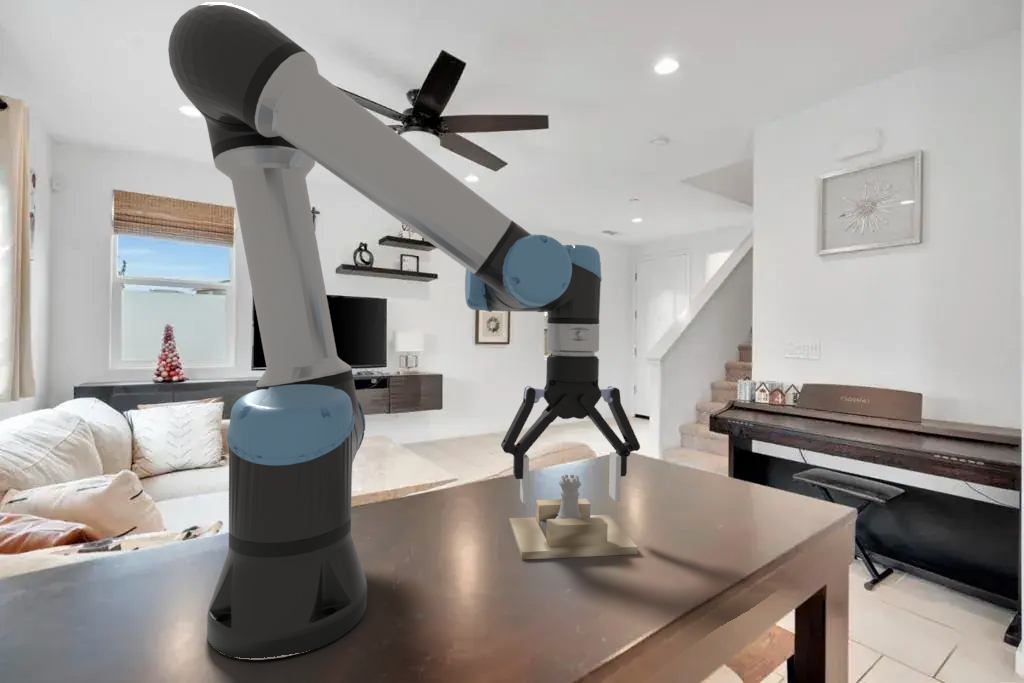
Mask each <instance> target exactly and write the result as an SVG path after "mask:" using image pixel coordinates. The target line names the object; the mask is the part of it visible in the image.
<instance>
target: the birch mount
mask: <svg viewBox="0 0 1024 683" xmlns="http://www.w3.org/2000/svg"><path fill="white" fill-rule="evenodd" d="M578 505H579V512H580V514H581V517H582V518H566V519H555V518H556V517H557V516H558V513H559V511H560V506H561V499H558V498H557V499H536V500H535V516H533V517H529V516H528V517H509V522H508V524H509V527H510V530H511V533H512V536H513V539H514V542H515V545H516V547H517V551H518V554H519V556H520V559H521V561H522V560H539V559H542V560H543V559H560V558H561V559H562V558H563V559H566V558H578V557H579V558H585V557H604V556H605V557H606V556H621V555H625V556H626V555H627V556H629V555H638V546H637V545H636V544H635V543H634V541H633V540H632V539H631V538H630V537H629V536H628V535H627V533H626V532H625V531H623V529H622V528H621V527H620V526H619V524H617V523H616V521H614V519H613V518H612V517H611V516H610V515H609V514H591V502H590V501H589V500H588V499H587V498H578Z"/></svg>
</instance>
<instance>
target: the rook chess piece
mask: <svg viewBox="0 0 1024 683" xmlns="http://www.w3.org/2000/svg"><path fill="white" fill-rule="evenodd" d="M558 484H559V486H560V487H561V491H560V494H559V495H560V496H561V506H560V511H559V513H558V516H557V517H556V518H555V519H566V518H582V517H581V514H580V512H579V505H578V499H579V496H580V493H579V488H580V487H581V485H582V483H581V482H580V477H579V476H578V475H575V476H574V474H570V476H569V475H568V474H564V475H561V479H560V481H559V482H558Z"/></svg>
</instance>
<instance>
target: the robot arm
mask: <svg viewBox="0 0 1024 683" xmlns="http://www.w3.org/2000/svg"><path fill="white" fill-rule="evenodd" d="M167 52H168V60H169V65H170V69H171V71H172V75H173V77H174V79H175V81H176V83H177V85H178V87H179V88H180V90H181V91H182V93H183V94H184V95H185V97H186V98H187V99H188V100H189V101H190V102H191V103H192V105H193V106H194V107H195V108H196V109H197V110H198V112H199V113H200V114H201V115H202V116H203V117H204V119H205V123H206V127H207V132H208V138H209V143H210V146H211V152H212V158H213V163H214V166H215V168H216V169H217V170H218V171H220V172H221V173H222V174H224V175H225V176H226V177H228V178H229V180H231V184H232V189H233V194H234V200H235V204H236V210H237V216H238V221H239V226H240V232H241V236H242V244H243V248H244V254H245V260H246V264H247V270H248V275H249V281H250V285H251V292H252V295H253V296H252V297H253V301H254V307H255V311H256V312H255V313H256V317H257V323H258V324H257V325H258V328H259V333H260V339H261V346H262V350H263V355H264V360H265V365H266V369H265V371H264V372H263V374H262V376H261V377H260V378H259V380H257V382H256V384H255V385H256V390H255V391H251V392H248V393H247V394H245V395H243V396H241V397H240V398H238V399H237V400H236V402H235V403H234V404H233V406H232V408H231V411H230V419H229V425H228V427H227V436H226V439H227V445H228V551H227V555H226V558H225V561H224V563H223V567H222V568H221V571H220V574H219V577H218V581H217V584H216V586H215V588H214V592H213V594H212V597H211V600H210V603H209V605H208V609H207V618H206V621H207V622H206V627H207V628H206V639H207V641H209V642H208V644H209V643H210V644H211V645H210V644H209V645H210V647H211V646H213V647H214V648H215V649H216V650H217V651H219V652H221V653H223V654H225V655H227V656H231V657H238V658H239V657H240V658H250V659H251V658H264V657H265V658H267V657H274V656H275V657H277V656H281V655H289V654H295V653H302V652H306V651H309V650H312V651H314V650H313V649H315V650H317V649H316V648H318V649H320V648H322V647H325V646H327V645H329V644H332V643H333V642H334V641H336V640H338V639H340V638H341V637H343V636H344V635H346V634H347V633H348V632H350V631H352V629H354V627H355V626H356V625H357V624H358V623H359V622H360V621H361V620H362V619H363V617H364V615H365V613H366V610H367V606H368V584H367V582H368V581H367V578H366V575H365V571H364V569H363V566H362V562H361V561H360V557H359V555H358V551H357V548H356V545H355V542H354V539H353V537H352V492H353V491H352V490H353V488H352V482H353V481H352V479H353V478H352V476H353V475H352V473H353V464H354V460H355V458H356V455H357V452H358V450H359V449H360V447H361V445H362V443H363V440H364V437H365V430H366V417H365V412H364V410H363V408H362V406H361V404H362V403H360V402H359V400H358V397H357V396H358V395H357V390H356V386H355V379H354V374H353V370H352V366H351V365H349V363H346V361H343V360H342V359H341V358H340V357H339V356H338V353H337V347H336V342H335V341H336V340H335V336H334V331H333V325H332V319H331V314H330V313H331V312H330V308H329V301H328V298H327V291H326V286H325V280H324V274H323V269H322V263H321V262H322V261H321V258H320V252H319V247H318V241H317V235H316V230H315V224H314V219H313V214H312V206H311V202H310V196H309V191H308V190H309V189H308V184H307V180H306V179H307V178H306V177H307V176H308V174H309V173H310V172H311V171H312V170H313V168H314V167H315V165H316V163H318V164H319V165H320V166H322V167H323V168H325V169H326V170H327V171H329V172H330V173H331V174H333V175H334V176H335V177H337V178H338V179H340V180H341V181H343V182H344V183H345V184H347V185H348V186H349V187H351V188H353V189H354V190H355V191H357V192H358V193H360V194H361V195H362V196H364V197H365V198H366V199H367V200H369V201H371V202H372V203H374V204H375V205H377V207H379V208H381V209H382V210H384V211H385V212H386V213H388V214H389V215H390V216H392V217H393V218H395V219H396V220H398V221H399V222H400V223H401V224H404V225H405V226H406V227H407V228H408V229H411V230H412V231H413V232H414V233H415V234H417V235H419V236H420V237H421V238H423V239H424V240H426V241H427V242H428V243H430V244H431V245H433V246H434V247H435V248H436V249H438V250H439V251H440V252H443V253H444V254H445V255H447V256H448V257H449V258H451V259H452V260H454V261H455V262H457V263H458V264H459V265H460V266H462V267H463V268H464V269H465V275H464V276H465V277H464V278H465V279H464V293H465V295H464V296H465V302H466V306H467V307H468V308H469V309H471V310H473V311H474V310H475V311H486V312H489V313H492V312H538V313H547V320H546V321H547V331H546V332H547V336H546V338H547V339H546V340H547V342H546V351H548V352H550V354H549V355H548V356H547V357H546V376H545V378H546V380H545V386H544V388H534V387H532V386H530V385H527V386H525V387H524V392H523V398H522V402H521V405H520V406H519V408H518V411H517V412H516V414H515V416H514V418H513V420H512V422H511V423H510V426H509V428H508V430H507V432H506V434H505V436H504V437H503V440H502V441H501V444H500V445H501V449H502V450H503V452H504V453H506V454H509V455H513V464H512V466H513V470H512V474H513V475H514V478H515V480H519V483H520V484H519V485H520V486H519V498H520V501H521V503H522V505H529V485H530V484H529V483H530V482H529V481H530V480H529V479H530V478H529V476H530V473H529V472H530V457H529V456H528V454H527V452H528V450H530V448H532V446H533V444H535V442H536V441H537V440H538V439H539V438H540V437H541V435H542V434H543V433H544V432H545V430H546V429H547V428H548V427H549V426H550V425H551V424H552V423H554V421H555V420H556V419H557V418H561V419H563V420H569V419H572V418H574V419H578V420H579V419H580V420H581V419H582V420H585V418H586V417H588V418H589V419H590V421H592V423H593V424H594V425H595V427H596V428H597V429H598V430H599V431H600V433H601V434H602V435H603V437H604V438H605V439H606V440H607V441H608V443H609V444H610V445H611V447H613V449H614V450H615V451H610V452H609V472H608V474H609V477H608V479H609V480H608V496H609V497H610V498H611V499H612V500H613V501H614V502H620V501H621V484H622V483H621V477H626V476H627V473H628V471H627V470H628V465H627V464H628V457H629V456H630V455H631V453H632V452H634V451H635V452H638V451H639V450H640V449H641V444H640V442H639V439H638V438H637V436H636V433H635V432H634V429H633V427H632V425H631V423H630V421H629V418H628V416H627V414H626V412H625V409H624V407H623V404H622V403H621V401H622V399H621V391H620V389H619V388H617V387H615V386H608V387H606V388H600V386H599V374H600V373H599V365H600V359H599V357H598V356H597V355H595V353H598V352H599V350H600V311H601V310H600V309H601V308H600V306H601V284H602V283H601V282H602V280H603V279H602V266H601V265H602V263H601V262H602V261H601V256H600V252H599V251H598V249H597V248H595V247H593V246H590V245H585V244H562V242H560V241H558V240H557V239H556V238H554V237H552V236H548V235H545V234H531V233H529V232H528V231H527V230H526V229H524V228H523V227H522V226H520V225H519V224H518V223H516V222H515V221H513V219H510V218H509V217H508V216H506V215H505V214H504V213H503V212H501V211H500V210H498V209H497V208H496V207H494V206H493V205H492V204H491V203H489V202H488V201H487V200H485V199H484V198H483V197H482V196H480V195H479V194H477V193H476V192H475V191H473V189H471V188H470V187H468V186H467V185H466V184H465V183H463V182H462V181H461V180H460V179H458V178H457V177H455V175H453V174H451V173H450V172H449V171H447V170H446V169H445V168H444V167H442V166H441V165H440V164H438V163H437V162H435V161H434V160H433V159H432V158H430V157H429V156H428V155H426V154H425V153H423V152H422V151H421V150H419V149H418V148H417V147H416V146H414V145H413V144H412V143H411V142H409V141H408V140H407V139H406V138H404V137H403V136H401V135H400V134H398V133H397V132H396V131H395V130H393V129H392V128H391V127H389V126H388V125H387V124H386V123H384V121H382V120H380V118H378V117H377V116H376V115H374V114H373V113H372V112H370V111H368V110H367V109H366V108H364V107H363V106H362V105H361V104H359V103H358V102H356V101H355V100H354V99H353V98H352V97H351V96H349V95H348V94H346V93H345V92H344V91H343V90H342V89H340V88H338V87H337V86H336V85H335V84H333V83H332V82H331V81H329V80H328V79H326V78H325V76H322V74H321V73H320V72H319V68H318V65H317V61H316V58H315V57H314V56H313V55H311V53H309V52H307V50H305V49H304V48H302V46H301V45H299V44H297V42H295V41H294V40H292V39H291V38H289V36H287V35H286V34H285V33H283V32H282V31H281V30H279V29H278V28H277V27H276V26H274V25H273V24H271V23H270V22H268V21H267V20H266V19H264V18H263V17H261V16H259V15H258V14H257V13H255V12H253V11H251V10H248V9H246V8H245V7H241V6H238V5H234V4H232V3H229V2H228V3H227V2H222V1H221V2H219V1H218V2H217V1H216V2H205V3H202V4H199V5H197V6H194V7H192V8H190V9H188V10H187V11H185V13H183V14H182V15H181V16H180V17H179V18H178V20H177V21H176V22H175V24H174V25H173V28H172V30H171V32H170V36H169V40H168V49H167ZM601 397H602V399H603V401H604V402H605V403H607V405H608V407H609V410H610V412H611V414H612V416H613V418H614V421H615V423H616V425H617V427H618V429H619V432H620V433H621V436H622V438H623V440H624V442H623V441H622V440H621V438H620V437H619V436H618V435H617V434H616V432H615V431H614V430H613V429H612V427H611V426H610V425H609V423H608V422H607V421H606V420H605V419H604V418H603V416H602V414H601V413H600V411H599V410H598V409H597V408H596V407H595V406H596V405H597V404H598V402H599V401H600V399H601ZM541 398H543V399H544V400H545V401H546V403H547V404H548V405H547V406H546V407H545V409H543V411H542V412H541V414H540V416H539V417H538V418H537V419H536V420H535V421H534V423H533V424H532V425H531V426H530V427H529V428H528V430H527V431H525V433H524V435H523V436H522V437H521V438H520V439H519V440H517V439H518V438H519V436H520V434H521V432H522V430H523V428H524V426H525V424H526V422H527V420H528V419H529V416H530V415H531V412H532V411H533V408H534V405H535V404H537V403H538V402H540V399H541ZM515 443H516V444H515ZM328 643H329V644H328ZM321 646H322V647H321ZM216 650H215V651H216ZM217 651H216V652H217ZM219 652H218V653H219ZM225 655H224V656H225ZM227 656H226V657H227ZM231 657H230V658H231Z"/></svg>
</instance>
